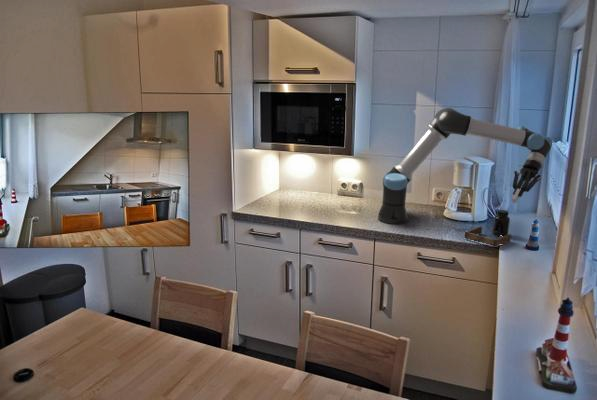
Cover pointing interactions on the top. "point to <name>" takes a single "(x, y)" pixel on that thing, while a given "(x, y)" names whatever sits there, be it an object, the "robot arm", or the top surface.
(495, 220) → the supplement bottle
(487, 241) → the walnut bay
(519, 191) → the robot arm
